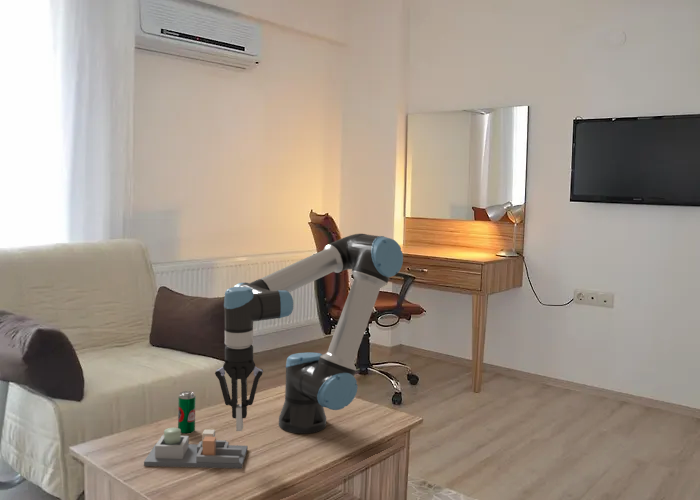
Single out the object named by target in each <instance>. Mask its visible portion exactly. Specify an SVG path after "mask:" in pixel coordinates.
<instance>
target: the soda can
mask: <svg viewBox="0 0 700 500" xmlns="http://www.w3.org/2000/svg"><path fill="white" fill-rule="evenodd" d="M177 401H178V402H177V404H178V406H177V407H178V408H177V428H179V429H180V430H181V435H189V434H192V433H194V432H195V430H196V401H197V399H196V395H195V391H191V390H187V391H186V390H185V391H182V392H179V395H178V399H177Z"/></svg>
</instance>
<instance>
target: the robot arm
mask: <svg viewBox="0 0 700 500" xmlns="http://www.w3.org/2000/svg"><path fill="white" fill-rule="evenodd" d="M403 253H404V252H403V251H402V248H401V246H400V244H399V243H398V242H397V241H396V240H394V239H393V238H390V237H387V236H384V235H373V234H366V233H355V234H349V235H348V236H345V237H342V238H339V239H337V240H336V241H333V242H330V243H329V244H327V245H325V246H324V248H323V250H321V251H319V252H316V253H313V254H312V255H309V256H307V257H305V258H302V259H301V260H299V261H297V262H294V263H292V264H290V265H287V266H285V267H283V268H281V269H278V270H276V271H274V272H272V273H270V274H267V275H265V276H263V277H261V278H258V279H256V280H254V281H252V282H238V283H237V284H235V285H234V286H233V287H229V288H227V289H226V290H225V292H224V298H223V299H224V301H223V308H224V345H225V346H224V362H223V365H222V367H220V368H217V369H216V370H215V373H214V374H215V376H216V378H217V379H218V382H219V386H220V389H221V392H222V396H223V401H224V404H225V405H226V406H230V407H231V417H232V419H235V430H236V432H242V431H243V428H244V419H247V415H248V406H253V403H254V399H255V397H256V396H255V395H256V393H257V388H258V384H259V380H260V378H261V377H262V375H263V373H264V370H263V368H258V367H257V366H256V363H255V361H254V345H253V344H254V322H259V321H260V322H261V321H266V320H267V321H269V320H275V319H281V318H286V317H289V316H291V315H292V312H293V311H294V299H293V296H292V294H291V293H292V292H294V291H296V290H298V289H300V288H302V287H304V286H306V285H308V284H311V283H312V282H314V281H316V280H319V279H321V278H323V277H325V276H327V275H329V274H331V273H336V274H339V273H341V272H343V271H346V270H347V271H348V270H351V274H352V276H353V280H352V284H351V287H350V289H349V292H348V295H347V298H346V299H345V302H344V305H343V308H342V311H341V314H340V316H339V318H338V321H337V325H336V328H335V330H334V331H333V332H334V333H333V336H332V338H331V341H330V343H329V346H328V350H327V351H326V352H325V353H324V354H322V353H320V352H298V353H292V354H290V355H288V357H287V358H286V362H285V390H284V391H285V392H284V393H285V394H284V396H285V397H284V403H283V405H282V408H281V410H280V414H279V417H278V426H279V427H280V428H281V430H283V431H285V432H289V433H294V434H313V433H317V432H320V431H323V430H324V429H325V428H326V427H327V416H326V415H327V414H326V413H325V408H326V409H329V410H332V411H338V410H342V409H344V408H345V407H348V406H349V405H351V403H352V402H353V401H354V399H355V397H356V395H357V392H358V384H357V383H358V382H357V379H356V377H355V375H356V372H357V368H356V366H355V359H356V357H357V354H358V351H359V348H360V345H361V344H362V341H363V338H364V335H365V332H366V329H367V327H368V324H369V321H370V318H371V315H372V312H373V309H374V307H375V305H376V302H377V299H378V297H379V293H380V290H381V289H382V288H384V287H385V286H387V285H388V283H389V281H390V278H392V277H394V276H396V275H397V274H399V272H400V271H401V269H402V266H403V263H404V255H403ZM252 372H253V376H254V377H253V383H252V386H251V390H250V393H249V397H248V378H249V376H250V375H251V374H252ZM225 374H227V375H228V376H229V378H230V379H231V380H230V381H231V393H230V391H229V388H228V387H229V386H228V383H227V380H226V376H225ZM238 380H240V383H241V384H240V389H241V392H240V393H241V395H240V396H241V399H240V400H241V404H239V403H238V401H239V400H238V396H239V395H238ZM230 394H231V396H230Z"/></svg>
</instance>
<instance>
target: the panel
mask: <svg viewBox="0 0 700 500" xmlns="http://www.w3.org/2000/svg"><path fill="white" fill-rule="evenodd" d="M189 438H190V437H189V435H181V441H180V442H179V443H177V444H166V443H164V434H162V435H161V437H160V438H159V439H158V441H157V442H156V443H155V444H154V446H152V449H151V450H150V452H149V453H148V455H147V456H146V458H145V460H144V461H143V466H144V467H166V468H167V467H172V468H173V467H174V468H213V469H214V468H215V469H243V465H244V463H245V460H246V455H247V452H248V445H241V444H239V445H238V444H237V445H236V444H233V445H232V444H230V443H229V441H227V440H223V439H222V440H221V439H219V440H218V439H216V455H203V447H202V440H201V441H199V442H198V443H197V444H196V443H193V444H192V443H190V441H189V440H190V439H189Z"/></svg>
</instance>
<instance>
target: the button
mask: <svg viewBox="0 0 700 500" xmlns="http://www.w3.org/2000/svg"><path fill="white" fill-rule="evenodd" d="M163 435H164V443H166V444H177V443H179V442H180V441H181V436H182V433H181V430H180V429H179V428H178V427H169V428H165V429H164V431H163Z"/></svg>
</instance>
